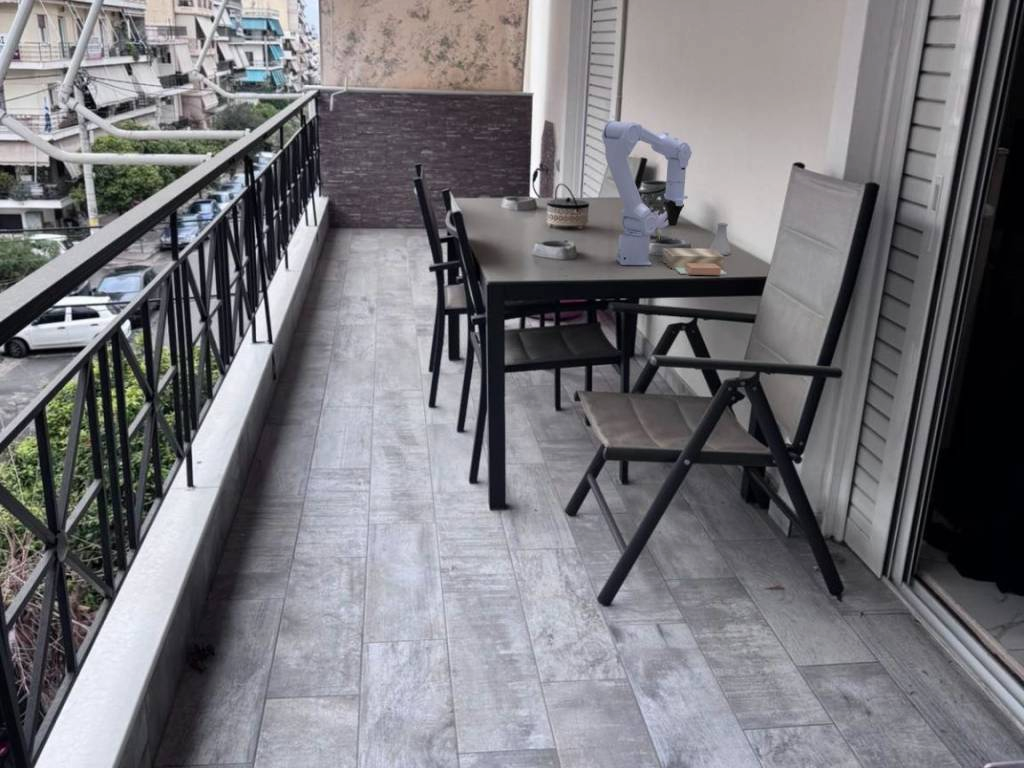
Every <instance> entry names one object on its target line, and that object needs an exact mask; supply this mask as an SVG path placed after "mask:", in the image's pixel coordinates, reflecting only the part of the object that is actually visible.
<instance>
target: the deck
mask: <svg viewBox="0 0 1024 768" xmlns="http://www.w3.org/2000/svg"><path fill="white" fill-rule="evenodd" d="M724 261H725V255H721V254H720V253H718V252H717V251H716V250H714V249H709V248H698V247H697V248H691V247H690V248H689V247H687V248H686V247H685V248H684V247H663V248H662V255H661V262H663V263H664V264H665V263H666V264H667V265H668V266H669V267H670V268H674V267H679V268H685V264H686V263H706V264H716V265H718V266H719V267H720V268H721V269H722V270H723V271H724ZM666 264H665V265H666ZM667 265H666V266H667ZM668 266H667V267H668ZM669 267H668V268H669ZM670 268H669V269H670Z"/></svg>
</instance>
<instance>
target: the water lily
mask: <svg viewBox="0 0 1024 768" xmlns="http://www.w3.org/2000/svg"><path fill="white" fill-rule="evenodd" d="M651 213H652V214H653V215H654V216H655V217H656V219H657V226H656V229H655V231H654V235H655V236H657V237H658V240H659V239H660V238H661V235H662V233H663V231H662V228H665V227H668V226H669V224H668V217H667V211H666V210H665V211H664V212H663V213H660V214H659V213H658V211H656V210H654V212H652V211H651Z"/></svg>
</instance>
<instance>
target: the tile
mask: <svg viewBox="0 0 1024 768" xmlns="http://www.w3.org/2000/svg"><path fill="white" fill-rule="evenodd" d="M685 270H686V271H687V272H688V273H689V274H701V275H700V276H721V275H720V273H721V268H720V267H719V266H718V265H716V264H706V263H686V264H685Z"/></svg>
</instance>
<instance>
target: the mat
mask: <svg viewBox="0 0 1024 768" xmlns="http://www.w3.org/2000/svg"><path fill="white" fill-rule="evenodd" d="M675 269H676V270H675ZM673 270H675V271H676V272H677V273H678V272H679V273H680V274H686V275H687V276H702V275H701V274H689V273H688V272H687V271H686V270H685V268H679V267H674V269H673ZM679 273H678V274H679ZM680 274H679V275H680ZM686 275H685V276H686ZM719 276H728V273H727V271H724V269H723V270H722V269H721V273H720V275H719Z"/></svg>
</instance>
